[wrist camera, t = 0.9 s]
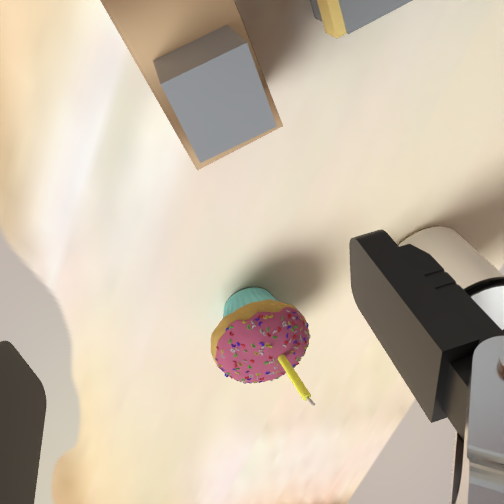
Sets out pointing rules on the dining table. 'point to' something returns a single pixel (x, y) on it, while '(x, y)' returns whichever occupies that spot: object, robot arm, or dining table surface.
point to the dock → (351, 13)
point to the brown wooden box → (177, 44)
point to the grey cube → (215, 92)
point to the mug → (464, 268)
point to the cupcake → (260, 339)
